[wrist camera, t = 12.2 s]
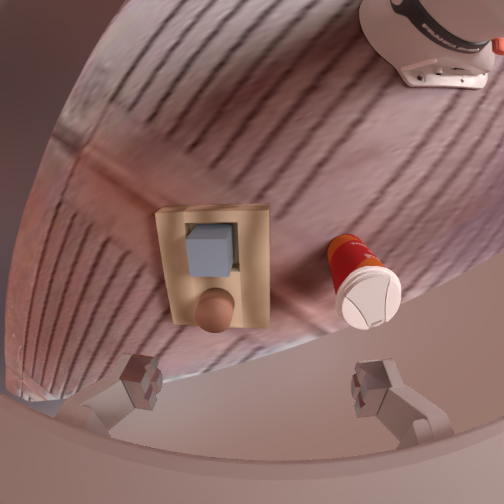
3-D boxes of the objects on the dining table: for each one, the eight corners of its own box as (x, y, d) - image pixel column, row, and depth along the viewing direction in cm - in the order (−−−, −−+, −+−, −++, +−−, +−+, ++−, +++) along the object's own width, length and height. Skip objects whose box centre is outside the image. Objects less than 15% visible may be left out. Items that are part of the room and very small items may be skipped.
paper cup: (375, 264, 42) (409, 318, 29) (328, 282, 44) (347, 342, 31) (362, 218, 40) (398, 259, 27) (312, 237, 41) (328, 287, 29)
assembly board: (269, 203, 40) (268, 219, 33) (270, 314, 47) (269, 345, 40) (163, 206, 41) (143, 222, 34) (179, 312, 48) (166, 340, 41)
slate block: (232, 223, 40) (226, 239, 35) (234, 257, 42) (228, 277, 37) (197, 223, 41) (185, 239, 35) (200, 257, 43) (189, 276, 37)
